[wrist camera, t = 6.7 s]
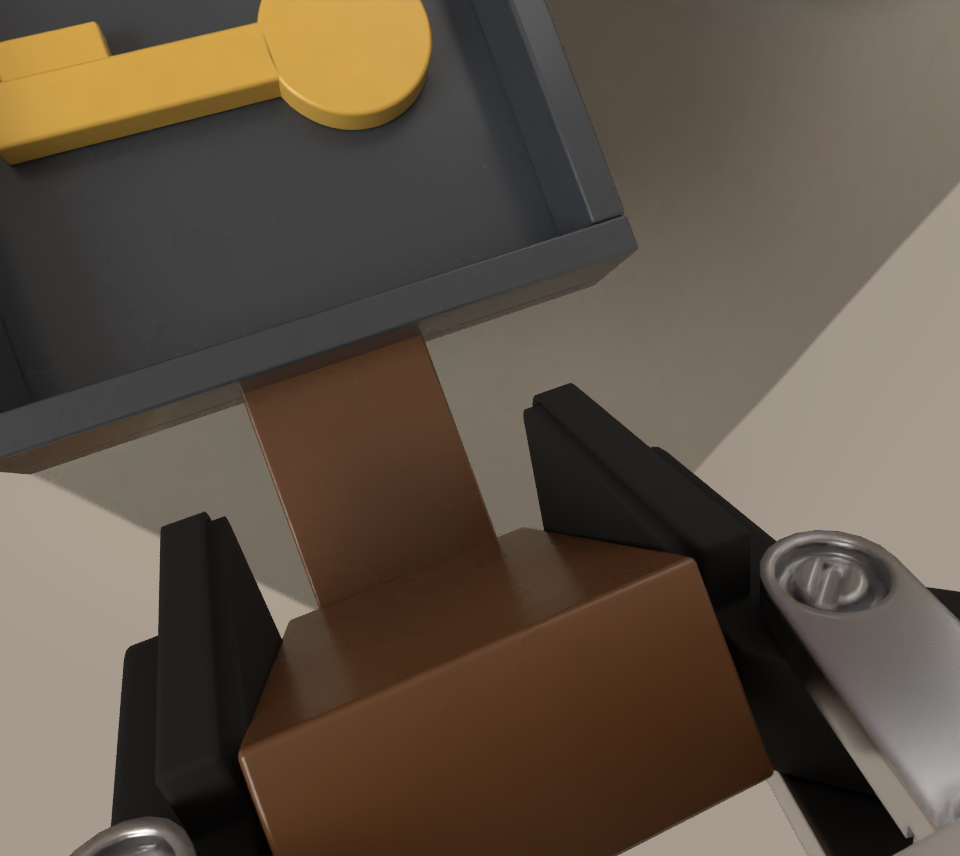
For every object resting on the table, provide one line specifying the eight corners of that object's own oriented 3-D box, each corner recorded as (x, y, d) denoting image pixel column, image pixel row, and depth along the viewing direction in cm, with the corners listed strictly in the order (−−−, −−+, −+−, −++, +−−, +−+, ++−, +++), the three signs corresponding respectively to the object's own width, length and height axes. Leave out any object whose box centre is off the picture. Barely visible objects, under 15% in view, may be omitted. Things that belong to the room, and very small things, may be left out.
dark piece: (701, 566, 14) (1051, 638, 7) (147, 807, 12) (-113, 1233, 5) (371, -317, 14) (400, -1069, 7) (-225, -231, 12) (-949, -1163, 5)
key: (396, -42, 13) (398, -68, 12) (452, 108, 13) (457, 90, 12) (-32, 53, 12) (-53, 29, 11) (29, 222, 12) (12, 207, 11)
